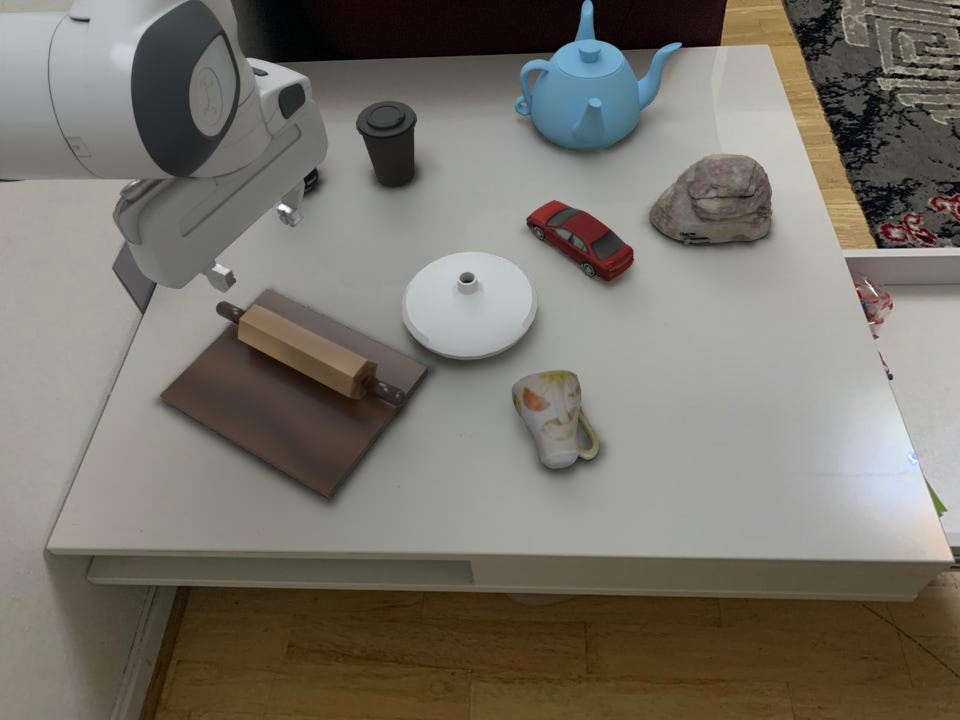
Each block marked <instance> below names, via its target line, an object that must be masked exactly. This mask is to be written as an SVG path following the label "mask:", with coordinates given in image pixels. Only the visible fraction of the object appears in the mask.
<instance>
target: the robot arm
mask: <svg viewBox="0 0 960 720" xmlns="http://www.w3.org/2000/svg"><path fill="white" fill-rule="evenodd" d="M238 35H239V34H238V20H237V17H236V14H235V10H234V7H233V4H232V1H231V0H73V1H72V4H71V6H70V8H69V10H67V11H66V10H65V11H62V10H61V11H60V10H59V11H13V12H12V11H11V12H5V11H4V12H0V184H1V183H14V182H15V183H17V182H22V181H41V180H42V181H52V180H53V181H57V180H58V181H61V180H64V181H66V180H68V181H69V180H70V181H71V180H80V181H81V180H84V181H85V180H132V181H130V182H128V183H126V185H124V187H122V188H121V190H120V192H119V195H120V197H119V199H118V201H117V202H116V204H115V207H114V210H113V212H112V220H113V222H114V225H116V228H117V229H118V231H119V232H120V234H121V236H122V237H123V238H124V239H125V240H126V242H127V245H128V248H129V250H130V252H131V255H132V257H133V259H134V261H135V263H136V265H137V268H138V269H139V270H140V273H142V275H143V276H145V277H146V278H147V279H149V280H151V281H152V282H154V283H156V284H158V285H160V286H162V287H164V288H168V289H175V290H181V289H183V288H185V287H186V286H187V285H188V284H189V283H190V282H191V281H193V280H194V279H195V278H196V277H198V275H199V274H201V275H203V276H205V277H206V278H207V280H208V282H209V284H210V286H211V287H213V288H214V289H215V290H217V291H219V292H221V293H225V294H226V293H227V292H228V291H229V290H230V288H232V287H233V286H234V285H235V284H236V283H237V279H236V277H235V274H234V273H233V270H232V269H230V268H228V267H226V266H225V267H224V266H223V265H222V264H220V263H217V262H216V259H217V258H218V257H219V256H220V255H221V254H223V252H224V251H226V249H228V248H229V247H230V246H231V245H232V244H233V243H234V242H235V241H237V240H238V239H239V238H240V237H241V236H242V235H243V234H244V233H245V232H247V230H249V229H250V228H251V227H252V226H253V225H254V224H255V223H256V222H257V221H259V220H260V219H261V218H262V217H263V216H264V215H265V214H267V212H268V211H270V209H272V208H273V207H274V206H275V205H277V203H278V202H279V201H280V200H281V203H280V204H279V205H278V206H277V207H276V211H277V214H278V215H279V219H280V221H281V222H282V223H283V224H284V225H286V226H288V225H289V226H290V228H295V227H296V226H297V225H298V224H299V223H301V221H302V220H303V219H304V218H305V214H304V211H303V208H302V204H303V198H304V193H305V192H304V188H305V182H304V179H303V178H304V177H306V176H307V175H308V174H309V173H310V172H311V171H312V170H313V169H314V168H315V167H316V168H317V167H318V166H319V165H320V164H321V163H323V162H324V161H325V159H326V157H327V153H328V148H329V139H328V134H327V131H326V127H325V123H324V119H323V117H322V114H321V111H320V108H319V106H318V104H317V103H316V101H315V100H314V99H312V97H313V88H312V83H311V80H310V78H309V77H308V76H306V75H304V74H303V73H300V72H298V71H295V70H293V69H290V68H288V67H285V66H282V65H280V64H276V63H273V62H270V61H266V60H262V59H258V58H254V57H245V55H244V53H243V52H242V49H241V47H240V45H239V44H240V43H239V39H238Z"/></svg>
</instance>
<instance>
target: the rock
mask: <svg viewBox="0 0 960 720" xmlns="http://www.w3.org/2000/svg"><path fill="white" fill-rule="evenodd" d="M768 174H769V173H767V172H766V171H765V169H764V167H763V166H762V165H761V164H760V163H759V162H758V161H757V160H756V159H754V158H753V157H751V156H749V155H743V154H735V153H711V154H710V155H706V156H703V157H702V158H701V159H699V160H697V161H695V162H694V163H692V164H691V165H690V166H689V167H688V168H687V169H685V170H683V172H681V173H680V175H679V176H678V177H677V180H676V181H675V182H673V183H672V184H671V185H669V187H668V188H666V189H665V190H664V191H663V192H662V193H661V195H660V196H659V197H658V198H657V200H656V201H654V204H653V205H652V206H651V208H650V210H649V213H648V218H649V220H650V222H651V223H652V224H653V226H655V227H656V228H657V229H658V230H659V231H660V232H661V233H663V234H664V235H666V236H668V237H670V238H672V239H674V240H677V241H681V242H682V246H688V245H702V244H703V245H705V244H711V243H727V242H739V241H745V242H750V241H754V240H758V239H760V238H763V237H764V236H766V234H767V233H768V231H769V229H770V223H771V222H772V218H771V217H772V216H773V209H772V196H773V188H772V185H771V183H770V180H769V175H768Z"/></svg>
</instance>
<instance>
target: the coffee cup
mask: <svg viewBox="0 0 960 720" xmlns="http://www.w3.org/2000/svg"><path fill="white" fill-rule="evenodd" d="M417 117H418V115H417V113H416V112H415V110H414V109H413V108H412V107H411V106H410V105H408V104H406V103H404V102H401V101H396V100H383V101H379V102H374V103H372V104H370V105H368V106H367V107H365V108H363V109H362V110H361V111H360V113H359V114H358V115H357V118H356V121H355V129H356V130H357V132H358V134H359V135H361V137H362V139H363V143H364V145H365V148H366V150H367V154H368V156H369V159H370V162H371V165H372V167H373V170H374V173H375V177H376V178H377V180H378V182H379V183H380V184H381V185H383V186H384V187H387V188H399V187H403V186H405V185H407V184H409V183H411V182H412V181H413V179H414V177H415V175H416V165H415V163H416V162H415V161H416V159H415V156H416V155H415V127H416V125H417V122H418V118H417Z"/></svg>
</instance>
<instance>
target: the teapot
mask: <svg viewBox="0 0 960 720" xmlns="http://www.w3.org/2000/svg"><path fill="white" fill-rule="evenodd" d="M594 28H595V27H594V5H593V2H592V1H591V0H584V1H583V3H582V5H581V11H580V21H579V25H578V29H577V33H576V36H575V39H574V41H572V42H570V43H566V44H565V45H563V46H561V47H560V48H559V49H558V50H557V51H555V53H554V54H553V55H552V56H551V58H550V59H549V60H545V59H541V58H540V59H533V60H530V61H528V62H526V63H525V64H524V65H523V67H522V68H521V69H520V73H519V83H520V89H521V91H522V94H523V95H520V96H518V97H517V98H516V99H515V101H514V110H515V112H516V113H517V114H519V115H521V116H529V115H530V118H531V120H532V123H533V125H534V126H535V128H536V129H537V130H538V131H539V132H540V133H541V134H542V135H543V136H544V137H545V138H546V139H548V140H549V141H550V142H552V143H553V144H555V145H557V146H559V147H562V148H565V149H568V150H569V149H570V150H572V151H595V150H601V149H604V148H607V147H610V146H612V145H614V144H617V143H618V142H619V141H621V140H622V139H624V138H625V137H627V136H628V135H629V134H630V133H631V132H632V131H633V130H634V129H635V127H636V126H637V124H638V122H639V120H640V117H641V112H642V111H644V110H645V109H646V108H648V107H649V106H650V105H651V104H652V102H654V100H655V99H656V97H657V95H658V93H659V90H660V87H661V84H662V77H663V72H664V68H665V65H666V63H667V61H668V60H669V58H670V56H671V55H672V54H674V53H675V52H676V51H677V50H679V49H680V48H681V47H682V45H683V43H682V42H674V43H669V44H667V45H665V46H662V47H661V48H660V49H659V50H658V51H657V52H656V53H655V55H653V58H652V61H651V63H650V67H649V70H648V72H647V74H646V75H645V76H644V77H643V78H641V79H640V80H639V81H638V79H637V77H636V75H635V73H634V71H633V68H632V67H631V65H630V63H629V61H628V60H627V58H626V57H625V56H624V54H623V53H622V51H621V50H620V49H619V48H617V47H616V46H615V45H612V44H611V43H608V42H606V41H601V40H597V39H596V36H595V29H594ZM533 71H541V72H540V74H539V76H538V77H537V79H536V82H535V84H534V87H533V90H532V91H531V89H530V85H529V81H528V75H529V73H531V72H533ZM522 103H526V105H522Z"/></svg>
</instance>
